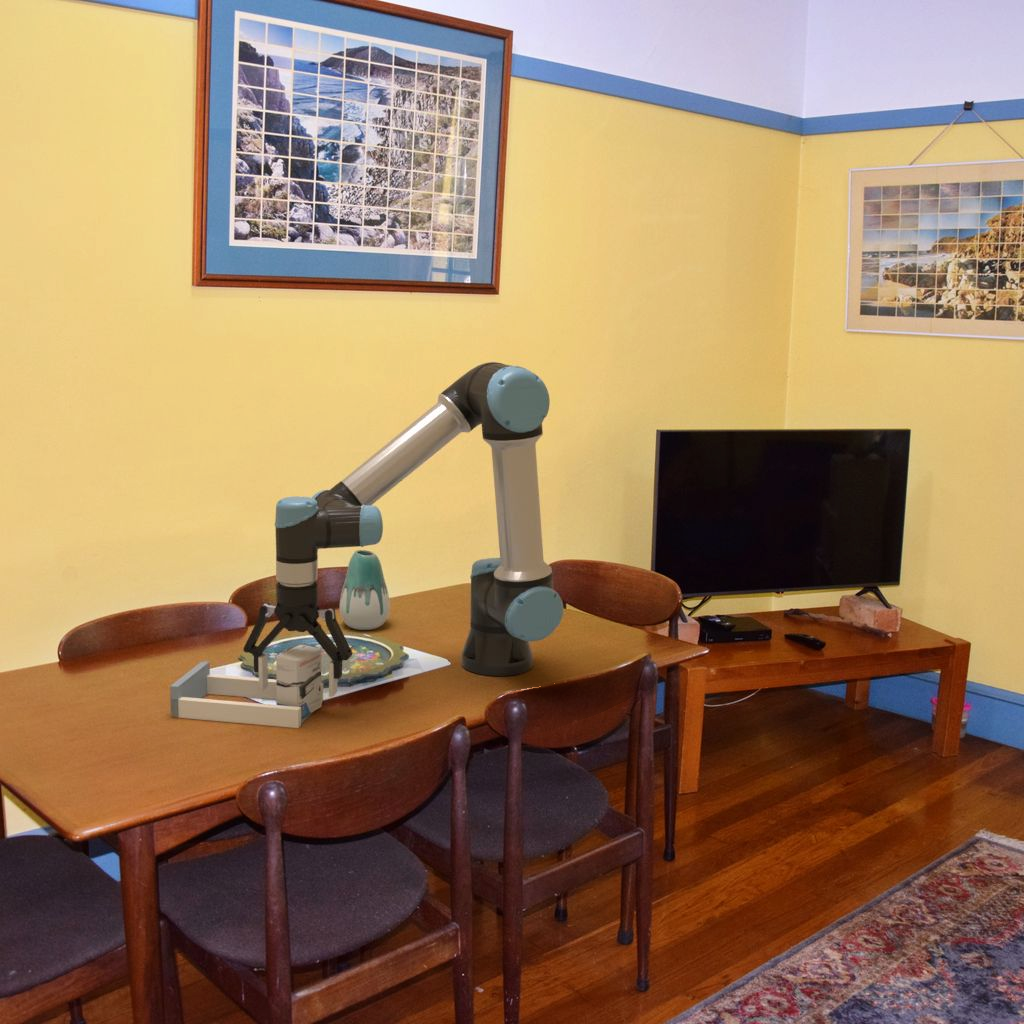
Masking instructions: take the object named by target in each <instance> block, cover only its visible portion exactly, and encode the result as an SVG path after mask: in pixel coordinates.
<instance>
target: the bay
mask: <svg viewBox="0 0 1024 1024" xmlns="http://www.w3.org/2000/svg"><path fill="white" fill-rule="evenodd" d="M210 665H211V663H210V661H205V660H204V661H203V660H202V661H201V662H200V663H198V664H197V665H196V666H193V668H191V669H190V670H189V671H188V672H186V673H185V674H184V675H182V676H181V677H180V678H178V679H177V680H176V681H175V682H174V683H172V684H171V685H169V686H170V687H169V691H170V692H169V694H170V695H169V696H170V717H171V718H179V719H180V718H181V719H190V720H201V721H202V720H203V721H210V722H211V721H212V722H213V721H214V722H224V723H237V724H246V725H247V724H248V725H249V724H250V725H256V726H257V725H260V726H268V727H269V726H270V727H280V728H293V729H299V728H301V726H302V724H301V707H294V706H282V705H277V704H269V703H268V704H267V703H258V702H247V701H245V702H244V701H235V700H221V699H210V698H204V697H205V696H206V695H207V694H208V695H218V696H228V697H229V696H230V697H241V698H253V699H254V698H255V699H263V700H264V699H265V700H275V701H277V688H276V685H277V682H276V679H274V678H273V679H271V678H268V687H267V688H265V689H264V690H263V691H259V677H249V676H240V675H239V676H236V675H226V674H215V673H214V674H213V673H211V670H210ZM323 701H324V683H322V703H323Z"/></svg>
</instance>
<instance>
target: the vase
mask: <svg viewBox="0 0 1024 1024" xmlns="http://www.w3.org/2000/svg"><path fill="white" fill-rule="evenodd" d="M339 599H340V600H339V613H340V617H341V619H342V621H343V623H344V624H345V625H346V626H348V627H349V628H350V629H354V630H358V631H371V630H375V629H377V628H380V627H383V625H384V624H385V623H386V621H387V620H388V617H389V615H390V611H391V603H390V596H389V591H388V587H387V583H386V580H385V576H384V571H383V568H382V563H381V561H380V559H379V557H378V555H377V554H376V553H374V552H373V551H372V550H367V549H366V550H365V549H357V550H355V551H354V552H353V554H352V556H351V558H350V559H349V562H348V566H347V570H346V575H345V579H344V583H343V586H342V589H341V593H340V598H339Z"/></svg>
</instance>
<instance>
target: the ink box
mask: <svg viewBox="0 0 1024 1024" xmlns="http://www.w3.org/2000/svg"><path fill="white" fill-rule="evenodd" d="M322 649H323V648H319V647H315V646H311V645H305V644H299V645H297V646H294V647H292V648H290V649H288V650H286V651H283V652H280V653H279V654H277V656H276V659H275V660H276V662H275V663H276V664H275V665H276V672H275V673H276V674H275V675H276V676H275V678H276V679H275V680H276V682H277V685H276V688H277V700H276V705H282V706H294V707H301V718H303V717H305V716H306V715H308V714H310V713H312V712H313V711H314V712H315V711H316V710H319V709H320V708H321V707H322V704H323V702H322V681H323V678H322V677H323V676H322V674H323V673H322V671H323V670H322V666H323V664H322V660H323V659H322V658H323V655H322V652H323V651H322ZM314 712H313V713H314ZM313 713H312V714H313Z"/></svg>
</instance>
